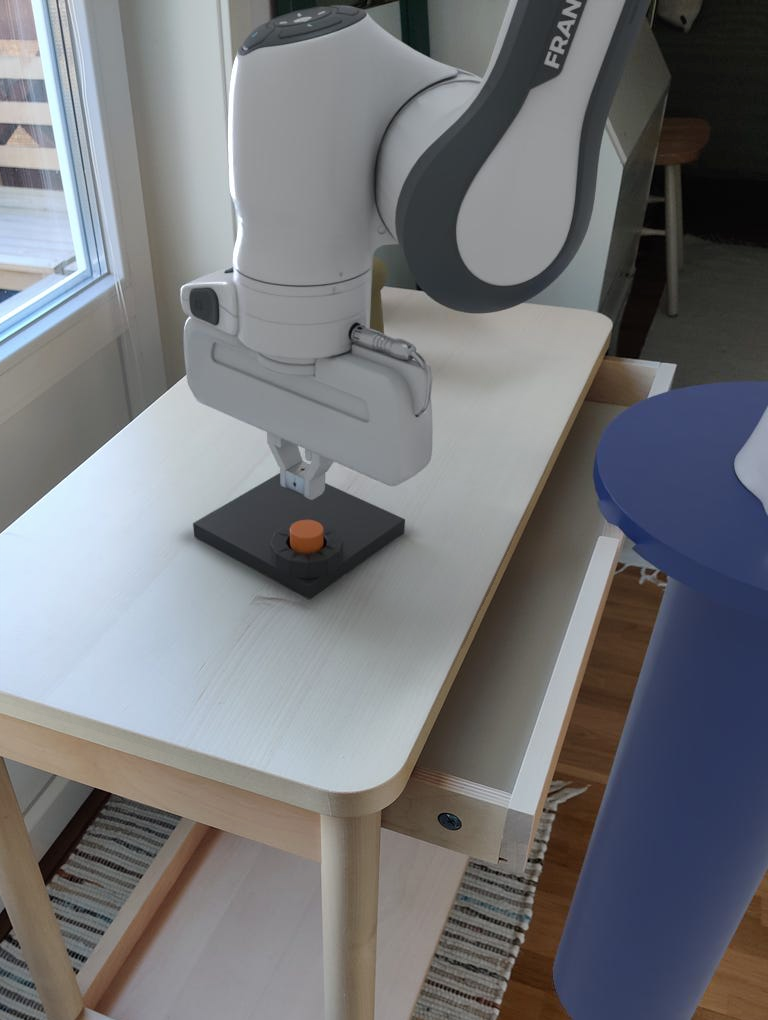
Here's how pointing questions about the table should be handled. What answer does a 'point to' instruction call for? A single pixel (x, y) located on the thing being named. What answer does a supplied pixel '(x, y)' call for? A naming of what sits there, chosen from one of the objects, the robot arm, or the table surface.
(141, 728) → the table surface
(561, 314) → the table surface
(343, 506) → the dark grey flat block
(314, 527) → the button
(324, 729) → the table surface
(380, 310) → the olive tapered knobbed cylinder
